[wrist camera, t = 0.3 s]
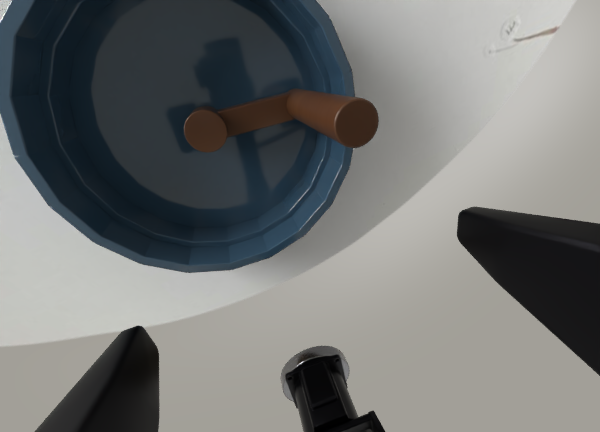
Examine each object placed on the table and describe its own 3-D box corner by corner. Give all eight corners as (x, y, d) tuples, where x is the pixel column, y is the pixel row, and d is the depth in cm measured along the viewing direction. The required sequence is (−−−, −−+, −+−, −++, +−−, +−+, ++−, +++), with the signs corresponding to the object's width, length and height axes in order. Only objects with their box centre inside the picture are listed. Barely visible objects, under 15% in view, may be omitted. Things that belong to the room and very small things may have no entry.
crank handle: (310, 117, 20) (381, 149, 11) (196, 148, 19) (175, 209, 10) (303, 80, 19) (376, 83, 10) (182, 110, 18) (145, 143, 9)
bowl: (343, 199, 25) (369, 225, 20) (139, 262, 23) (119, 306, 18) (302, -66, 17) (331, -117, 12) (-23, -6, 14) (-128, -42, 10)
